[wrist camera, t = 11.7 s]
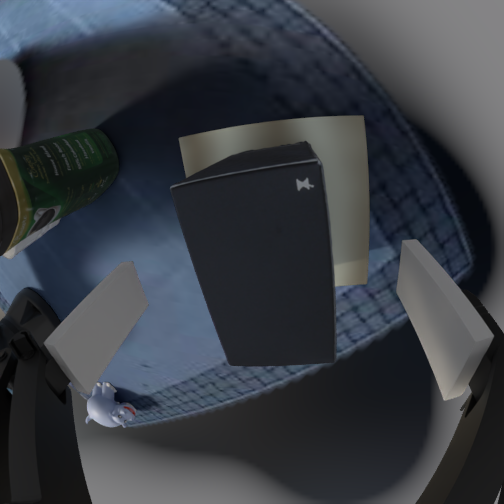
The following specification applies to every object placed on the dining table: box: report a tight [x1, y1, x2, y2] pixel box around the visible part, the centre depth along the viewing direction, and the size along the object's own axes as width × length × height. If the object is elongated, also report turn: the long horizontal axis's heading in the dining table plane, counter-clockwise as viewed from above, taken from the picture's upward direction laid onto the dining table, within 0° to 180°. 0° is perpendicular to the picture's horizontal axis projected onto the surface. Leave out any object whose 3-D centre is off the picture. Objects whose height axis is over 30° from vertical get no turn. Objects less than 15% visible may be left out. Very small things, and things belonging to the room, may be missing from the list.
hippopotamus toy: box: [86, 382, 137, 428], centre depth 47 cm, size 11×15×10 cm
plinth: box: [179, 116, 370, 286], centre depth 23 cm, size 14×14×6 cm
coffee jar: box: [0, 129, 119, 256], centre depth 19 cm, size 10×8×19 cm
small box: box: [170, 141, 336, 366], centre depth 16 cm, size 11×6×10 cm, turn 11°
